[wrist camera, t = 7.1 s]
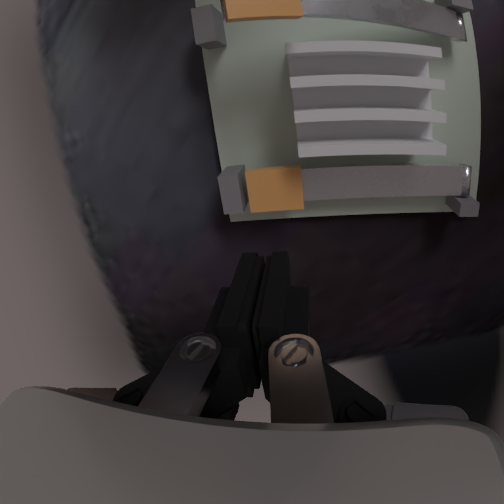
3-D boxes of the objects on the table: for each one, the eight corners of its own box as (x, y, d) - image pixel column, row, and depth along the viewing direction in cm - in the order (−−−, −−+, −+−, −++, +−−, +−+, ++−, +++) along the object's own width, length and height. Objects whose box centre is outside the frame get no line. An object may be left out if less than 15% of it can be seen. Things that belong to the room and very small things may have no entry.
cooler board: (461, 1, 14) (499, -13, 9) (469, 207, 24) (503, 238, 18) (198, 1, 19) (168, -21, 13) (232, 217, 28) (215, 252, 23)
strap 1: (454, 11, 14) (469, 9, 13) (460, 46, 16) (476, 46, 14) (216, -19, 12) (220, -30, 11) (223, 27, 14) (228, 19, 12)
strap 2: (467, 159, 20) (478, 165, 19) (465, 195, 22) (474, 202, 20) (248, 166, 23) (244, 172, 22) (253, 204, 25) (250, 212, 23)
